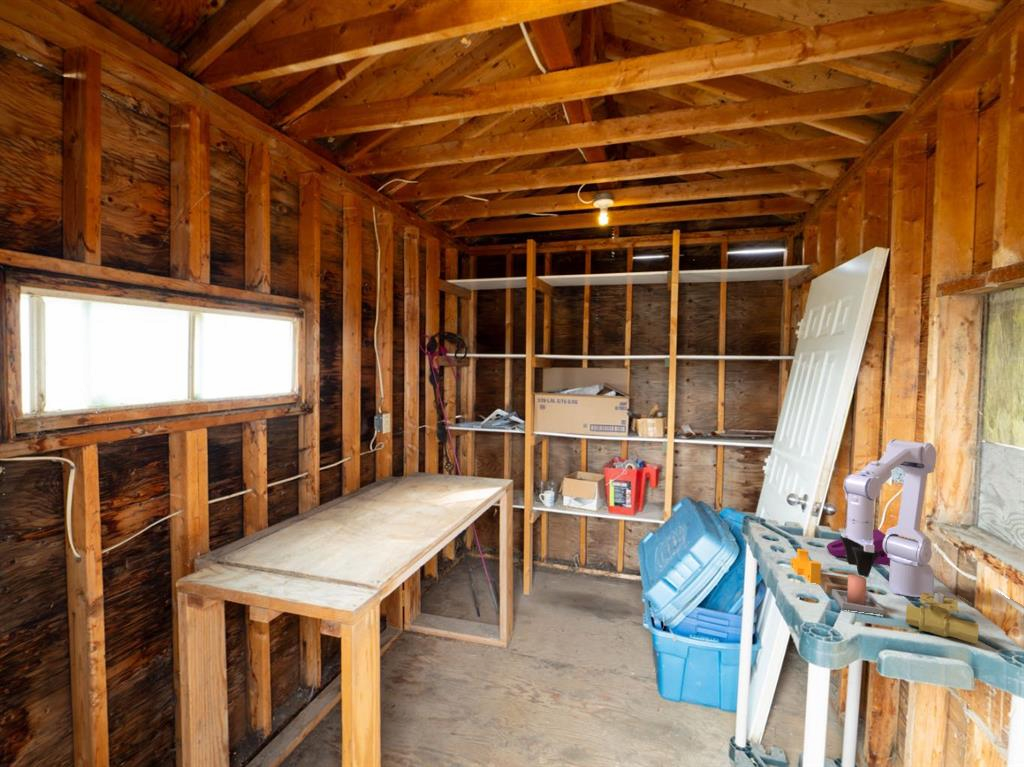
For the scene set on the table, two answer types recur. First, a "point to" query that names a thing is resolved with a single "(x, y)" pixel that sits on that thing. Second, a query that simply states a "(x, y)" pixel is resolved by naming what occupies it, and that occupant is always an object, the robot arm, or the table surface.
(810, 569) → the pipe clamp
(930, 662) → the table surface
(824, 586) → the square frame
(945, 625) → the ball valve
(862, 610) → the tray
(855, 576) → the plug
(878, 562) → the mounting bracket
